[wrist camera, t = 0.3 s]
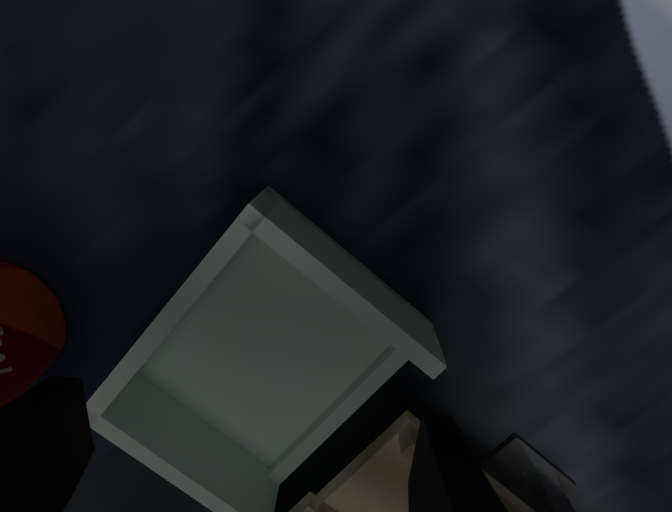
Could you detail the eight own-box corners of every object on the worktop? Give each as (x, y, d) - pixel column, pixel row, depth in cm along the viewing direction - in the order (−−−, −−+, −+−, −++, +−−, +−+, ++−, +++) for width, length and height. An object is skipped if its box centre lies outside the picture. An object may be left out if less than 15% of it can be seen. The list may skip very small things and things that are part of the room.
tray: (274, 476, 24) (259, 543, 20) (120, 366, 22) (74, 417, 19) (431, 322, 21) (447, 366, 17) (268, 185, 20) (248, 203, 16)
